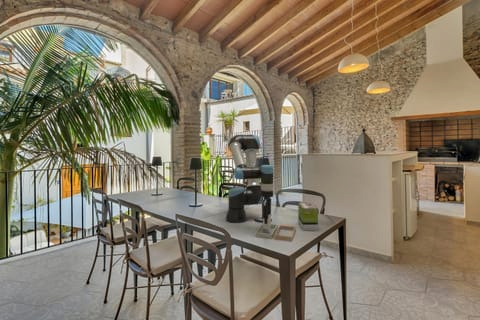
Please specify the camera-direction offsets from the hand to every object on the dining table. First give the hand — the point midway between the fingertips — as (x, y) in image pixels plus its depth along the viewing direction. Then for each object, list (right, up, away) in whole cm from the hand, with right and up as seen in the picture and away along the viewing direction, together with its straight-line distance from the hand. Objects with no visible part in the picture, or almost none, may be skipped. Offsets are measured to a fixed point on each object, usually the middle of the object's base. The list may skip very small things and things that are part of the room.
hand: (267, 227), depth 152 cm
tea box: (+28, -3, +11) cm, 31 cm away
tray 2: (+11, -4, -3) cm, 12 cm away
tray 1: (0, -3, 0) cm, 3 cm away
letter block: (0, 0, 0) cm, 0 cm away
